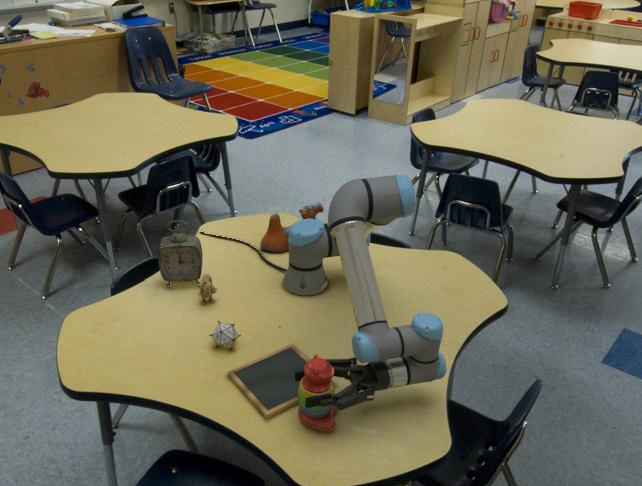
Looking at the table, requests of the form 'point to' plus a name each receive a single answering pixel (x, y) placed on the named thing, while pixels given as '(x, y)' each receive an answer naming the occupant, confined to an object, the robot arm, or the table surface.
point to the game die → (225, 335)
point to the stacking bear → (314, 385)
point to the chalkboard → (271, 380)
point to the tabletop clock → (180, 257)
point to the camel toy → (285, 229)
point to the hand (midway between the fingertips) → (300, 389)
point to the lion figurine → (207, 288)
